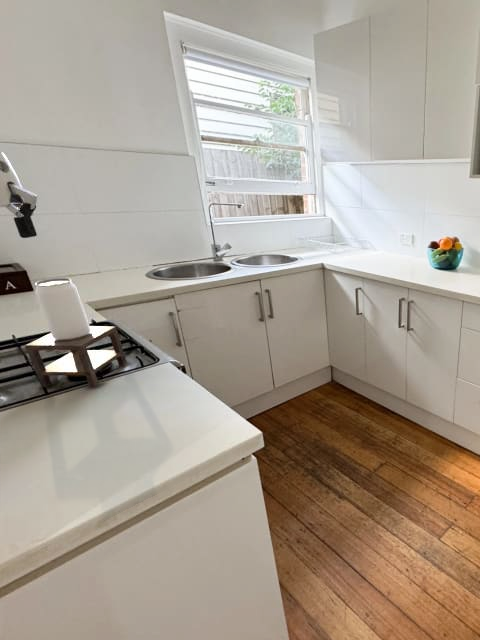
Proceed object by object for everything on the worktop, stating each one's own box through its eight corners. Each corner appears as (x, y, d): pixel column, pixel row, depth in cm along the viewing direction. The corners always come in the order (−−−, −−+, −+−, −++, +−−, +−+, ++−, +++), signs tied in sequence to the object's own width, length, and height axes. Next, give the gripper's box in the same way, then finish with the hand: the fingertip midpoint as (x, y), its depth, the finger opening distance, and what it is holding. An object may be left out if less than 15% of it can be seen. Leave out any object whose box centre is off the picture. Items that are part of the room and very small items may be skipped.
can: (75, 328, 87) (57, 276, 82) (99, 331, 86) (82, 279, 81) (44, 339, 81) (23, 284, 76) (69, 342, 80) (49, 286, 75)
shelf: (41, 387, 82) (24, 345, 78) (80, 364, 92) (66, 325, 88) (95, 387, 83) (80, 345, 79) (127, 364, 93) (115, 326, 89)
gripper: (33, 146, 75) (63, 234, 82) (-61, 142, 74) (-23, 233, 81) (-3, 143, 68) (33, 240, 75) (-107, 139, 67) (-61, 238, 74)
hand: (4, 236), depth 78 cm, fingers open, 9 cm apart
